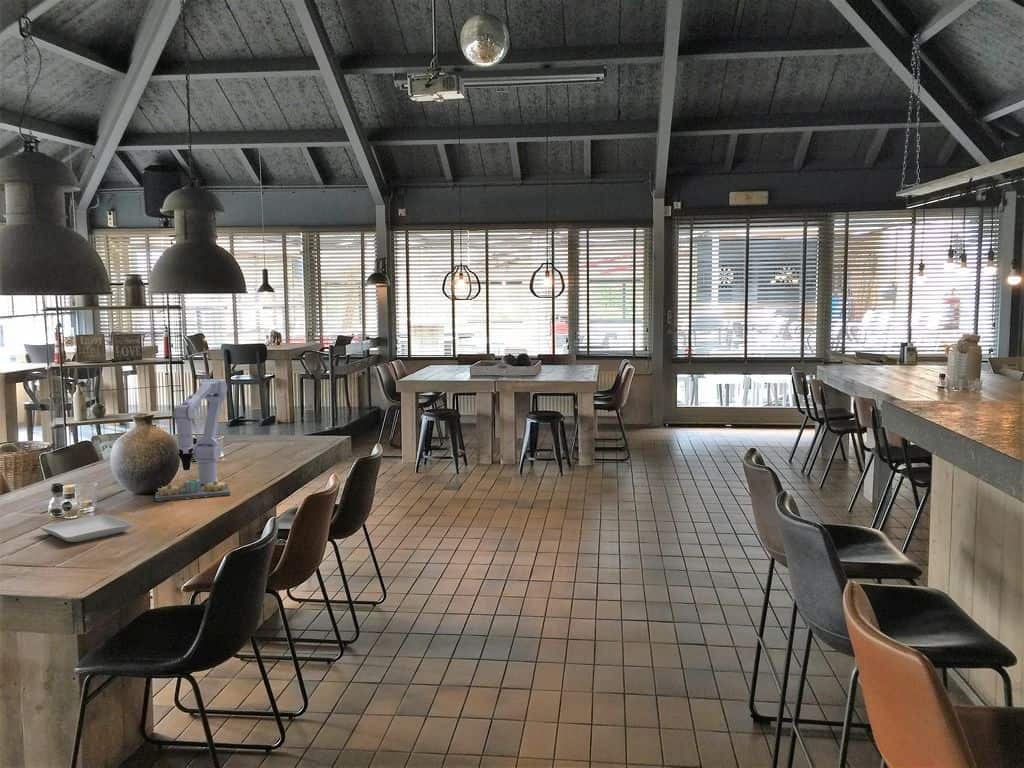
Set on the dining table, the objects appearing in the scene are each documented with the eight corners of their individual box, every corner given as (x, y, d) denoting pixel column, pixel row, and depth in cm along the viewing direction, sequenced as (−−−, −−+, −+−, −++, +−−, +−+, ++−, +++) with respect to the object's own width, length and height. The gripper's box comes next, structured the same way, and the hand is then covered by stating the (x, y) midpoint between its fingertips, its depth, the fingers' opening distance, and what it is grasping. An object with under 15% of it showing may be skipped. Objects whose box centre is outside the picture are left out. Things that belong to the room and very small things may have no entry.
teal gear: (185, 490, 319) (184, 480, 318) (200, 488, 321) (200, 478, 321) (185, 493, 314) (184, 483, 313) (201, 491, 316) (200, 481, 315)
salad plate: (105, 522, 279) (104, 512, 279) (134, 533, 266) (134, 523, 266) (39, 535, 263) (38, 525, 263) (66, 548, 250) (66, 537, 249)
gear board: (156, 493, 319) (155, 481, 318) (228, 487, 329) (227, 475, 328) (155, 501, 306) (154, 489, 305) (230, 495, 316) (229, 482, 316)
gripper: (196, 436, 316) (197, 470, 317) (195, 431, 329) (197, 464, 330) (176, 438, 313) (178, 472, 314) (176, 432, 326) (178, 465, 328)
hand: (186, 468), depth 322 cm, fingers open, 7 cm apart
